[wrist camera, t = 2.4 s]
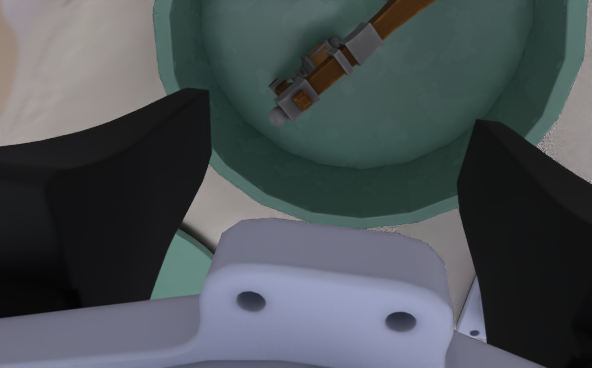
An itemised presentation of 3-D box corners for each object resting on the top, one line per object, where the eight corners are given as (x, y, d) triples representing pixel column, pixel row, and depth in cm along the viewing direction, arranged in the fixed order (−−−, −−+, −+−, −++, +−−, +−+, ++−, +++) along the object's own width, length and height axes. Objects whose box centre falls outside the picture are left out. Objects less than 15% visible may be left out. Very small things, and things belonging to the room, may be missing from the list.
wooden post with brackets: (243, 88, 21) (258, 108, 17) (388, -41, 20) (441, -52, 16) (270, 119, 22) (291, 147, 17) (412, -4, 21) (468, -6, 17)
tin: (616, -171, 16) (681, -174, 12) (486, 192, 24) (504, 248, 20) (176, -205, 16) (128, -216, 13) (197, 157, 25) (171, 205, 21)
